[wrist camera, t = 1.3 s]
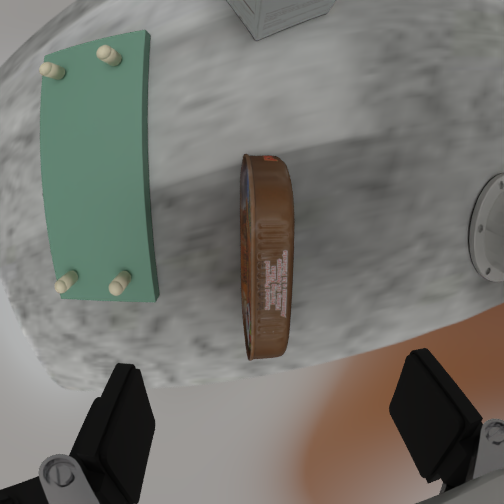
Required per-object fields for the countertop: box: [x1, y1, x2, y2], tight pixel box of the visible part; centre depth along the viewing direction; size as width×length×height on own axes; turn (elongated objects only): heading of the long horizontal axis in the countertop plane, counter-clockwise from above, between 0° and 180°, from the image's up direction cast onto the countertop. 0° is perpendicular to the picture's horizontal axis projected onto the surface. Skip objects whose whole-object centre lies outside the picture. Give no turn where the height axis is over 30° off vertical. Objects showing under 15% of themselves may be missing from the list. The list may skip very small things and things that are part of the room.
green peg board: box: [39, 30, 159, 302], centre depth 21 cm, size 10×23×5 cm, turn 0°
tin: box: [240, 154, 294, 361], centre depth 22 cm, size 15×3×8 cm, turn 0°
